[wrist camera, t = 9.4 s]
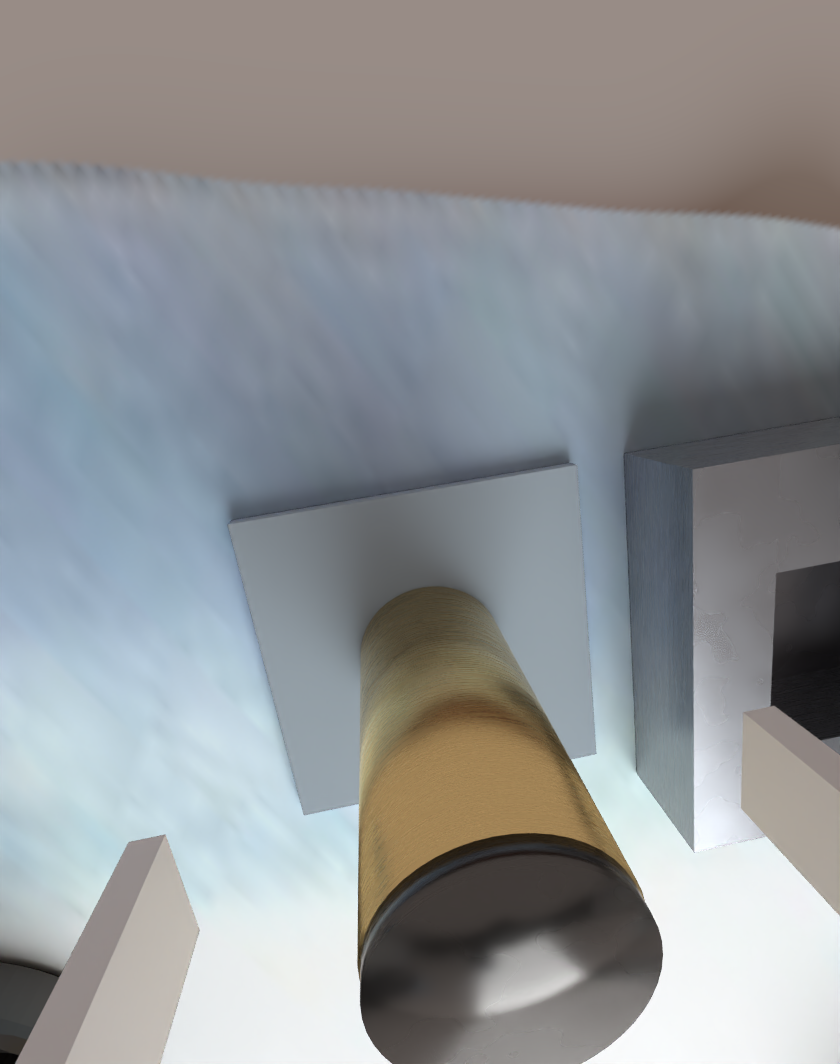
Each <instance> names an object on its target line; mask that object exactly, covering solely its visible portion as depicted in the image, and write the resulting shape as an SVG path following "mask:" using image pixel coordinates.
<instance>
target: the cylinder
mask: <svg viewBox="0 0 840 1064" xmlns="http://www.w3.org/2000/svg"><path fill="white" fill-rule="evenodd" d="M662 959H663V950H662V940H661V936H660V932H659V929H658V926H657V924H656V922H655V920H654V918H653V916H652V914H651V912H650V910H649V908H648V907H647V905H646V903H645V900H644V897H643V893H642V890H641V888H640V886H639V884H638V882H637V880H636V878H635V876H634V875H633V873H632V871H631V869H630V867H629V865H628V864H627V862H626V860H625V858H624V856H623V854H622V853H621V851H620V849H619V847H618V845H617V843H616V842H615V840H614V838H613V836H612V834H611V832H610V831H609V829H608V827H607V825H606V823H605V821H604V820H603V818H602V816H601V814H600V812H599V810H598V809H597V807H596V805H595V803H594V801H593V799H592V798H591V796H590V794H589V792H588V790H587V789H586V787H585V785H584V783H583V781H582V779H581V778H580V776H579V774H578V772H577V770H576V768H575V767H574V765H573V763H572V761H571V759H570V757H569V756H568V754H567V752H566V750H565V748H564V746H563V745H562V743H561V741H560V739H559V737H558V735H557V734H556V732H555V730H554V728H553V726H552V724H551V723H550V721H549V719H548V717H547V715H546V713H545V712H544V710H543V708H542V706H541V704H540V702H539V701H538V699H537V697H536V695H535V693H534V691H533V690H532V688H531V686H530V684H529V682H528V680H527V679H526V677H525V675H524V673H523V671H522V669H521V668H520V666H519V664H518V662H517V660H516V658H515V657H514V655H513V653H512V651H511V649H510V647H509V646H508V644H507V642H506V640H505V638H504V636H503V635H502V633H501V631H500V629H499V627H498V625H497V624H496V622H495V620H494V618H493V616H492V615H491V614H490V612H489V611H488V609H487V608H486V607H485V606H484V605H483V604H482V603H481V602H479V601H478V600H477V599H476V598H474V597H472V596H471V595H469V594H467V593H465V592H462V591H460V590H456V589H453V588H448V587H438V586H431V587H422V588H417V589H413V590H410V591H407V592H405V593H402V594H400V595H398V596H396V597H395V598H393V599H392V600H390V601H389V602H387V603H386V604H385V605H384V606H383V607H382V608H380V609H379V611H378V612H377V613H376V614H375V615H374V616H373V618H372V619H371V621H370V622H369V624H368V626H367V628H366V630H365V633H364V636H363V639H362V644H361V664H360V764H359V864H358V972H359V979H360V1007H361V1014H362V1020H363V1023H364V1026H365V1029H366V1032H367V1034H368V1036H369V1037H370V1039H371V1041H372V1043H373V1044H374V1046H375V1047H376V1048H377V1049H378V1050H379V1052H380V1053H381V1054H382V1055H383V1056H384V1057H385V1058H386V1059H387V1060H389V1061H390V1062H391V1063H392V1064H581V1063H583V1062H585V1061H587V1060H588V1059H590V1058H592V1057H594V1056H595V1055H597V1054H598V1053H599V1052H601V1051H602V1050H604V1049H605V1048H607V1047H608V1046H609V1045H611V1044H612V1043H613V1042H614V1041H615V1040H617V1039H618V1038H619V1037H620V1036H621V1035H622V1034H623V1033H624V1032H625V1031H626V1030H627V1029H628V1028H629V1027H630V1026H631V1025H632V1024H633V1023H634V1022H635V1021H636V1019H637V1018H638V1017H639V1015H640V1014H641V1013H642V1012H643V1010H644V1009H645V1007H646V1005H647V1004H648V1002H649V1000H650V999H651V997H652V995H653V993H654V990H655V988H656V986H657V983H658V980H659V976H660V973H661V969H662Z"/></svg>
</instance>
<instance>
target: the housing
mask: <svg viewBox="0 0 840 1064" xmlns="http://www.w3.org/2000/svg"><path fill="white" fill-rule="evenodd" d="M624 466H625V491H626V515H627V540H628V564H629V589H630V613H631V638H632V662H633V687H634V712H635V736H636V761H637V774H638V776H639V777H640V779H641V780H642V781H643V783H644V784H645V785H646V787H647V788H648V790H649V791H650V792H651V794H652V795H653V796H654V798H655V799H656V801H657V802H658V803H659V805H660V806H661V807H662V809H663V810H664V812H665V813H666V814H667V816H668V817H669V819H670V820H671V821H672V823H673V824H674V825H675V827H676V828H677V830H678V831H679V832H680V834H681V835H682V836H683V838H684V839H685V841H686V842H687V843H688V845H689V846H690V847H691V849H692V850H693V852H694V853H695V852H699V851H704V850H708V849H712V848H717V847H721V846H726V845H730V844H735V843H739V842H743V841H748V840H752V839H757V838H761V837H765V836H766V835H765V834H764V833H763V832H762V831H761V830H760V829H759V828H758V826H757V825H756V824H755V823H754V822H753V821H752V820H751V819H750V818H749V817H748V816H747V815H746V813H745V812H744V811H743V810H742V809H741V781H742V743H743V712H747V711H752V710H757V709H761V708H766V707H771V706H775V707H777V708H778V709H779V710H781V711H782V712H783V713H785V714H786V715H787V716H789V717H790V718H791V719H793V720H794V721H795V722H797V723H798V724H799V725H801V726H802V727H803V728H805V729H806V730H807V731H809V732H810V733H811V734H813V735H814V736H815V737H817V738H818V739H819V740H821V741H822V742H823V743H825V744H826V745H827V746H828V747H830V748H831V749H832V750H834V751H835V752H836V753H838V754H839V755H840V417H836V418H830V419H825V420H819V421H813V422H807V423H801V424H795V425H789V426H783V427H778V428H772V429H766V430H760V431H754V432H748V433H742V434H736V435H731V436H725V437H719V438H713V439H707V440H701V441H695V442H689V443H683V444H678V445H672V446H666V447H660V448H654V449H648V450H642V451H636V452H631V453H625V454H624Z"/></svg>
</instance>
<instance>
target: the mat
mask: <svg viewBox="0 0 840 1064" xmlns="http://www.w3.org/2000/svg"><path fill="white" fill-rule="evenodd" d="M228 528H229V532H230V536H231V540H232V544H233V547H234V551H235V555H236V559H237V563H238V566H239V570H240V574H241V578H242V582H243V585H244V589H245V593H246V597H247V601H248V605H249V608H250V612H251V616H252V620H253V624H254V627H255V631H256V635H257V639H258V643H259V646H260V650H261V654H262V658H263V662H264V665H265V669H266V673H267V677H268V681H269V685H270V688H271V692H272V696H273V700H274V704H275V707H276V711H277V715H278V719H279V723H280V726H281V730H282V734H283V738H284V742H285V745H286V749H287V753H288V757H289V761H290V765H291V768H292V772H293V776H294V780H295V784H296V787H297V791H298V795H299V799H300V803H301V806H302V810H303V814H304V815H308V814H313V813H317V812H322V811H327V810H332V809H336V808H341V807H346V806H351V805H355V804H359V764H360V664H361V644H362V639H363V636H364V633H365V630H366V628H367V626H368V624H369V622H370V621H371V619H372V618H373V616H374V615H375V614H376V613H377V612H378V611H379V609H380V608H382V607H383V606H384V605H385V604H386V603H387V602H389V601H390V600H392V599H393V598H395V597H396V596H398V595H400V594H402V593H405V592H407V591H410V590H413V589H417V588H422V587H431V586H438V587H448V588H453V589H456V590H460V591H462V592H465V593H467V594H469V595H471V596H472V597H474V598H476V599H477V600H478V601H479V602H481V603H482V604H483V605H484V606H485V607H486V608H487V609H488V611H489V612H490V614H491V615H492V616H493V618H494V620H495V622H496V624H497V625H498V627H499V629H500V631H501V633H502V635H503V636H504V638H505V640H506V642H507V644H508V646H509V647H510V649H511V651H512V653H513V655H514V657H515V658H516V660H517V662H518V664H519V666H520V668H521V669H522V671H523V673H524V675H525V677H526V679H527V680H528V682H529V684H530V686H531V688H532V690H533V691H534V693H535V695H536V697H537V699H538V701H539V702H540V704H541V706H542V708H543V710H544V712H545V713H546V715H547V717H548V719H549V721H550V723H551V724H552V726H553V728H554V730H555V732H556V734H557V735H558V737H559V739H560V741H561V743H562V745H563V746H564V748H565V750H566V752H567V754H568V756H569V757H570V759H575V758H579V757H584V756H589V755H594V754H596V742H595V727H594V712H593V697H592V681H591V666H590V651H589V636H588V621H587V606H586V591H585V576H584V560H583V545H582V530H581V515H580V500H579V485H578V470H577V465H576V464H573V463H566V464H560V465H554V466H548V467H542V468H536V469H531V470H525V471H519V472H513V473H507V474H501V475H495V476H489V477H484V478H478V479H472V480H466V481H460V482H454V483H448V484H442V485H436V486H431V487H425V488H419V489H413V490H407V491H401V492H395V493H389V494H384V495H378V496H372V497H366V498H360V499H354V500H348V501H342V502H337V503H331V504H325V505H319V506H313V507H307V508H301V509H295V510H289V511H284V512H278V513H272V514H266V515H260V516H254V517H248V518H242V519H237V520H232V521H231V522H230V523H229V524H228Z"/></svg>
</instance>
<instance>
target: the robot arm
mask: <svg viewBox="0 0 840 1064" xmlns="http://www.w3.org/2000/svg"><path fill="white" fill-rule="evenodd" d="M741 809H742V810H743V811H744V812H745V813H746V815H747V816H748V817H749V818H750V819H751V820H752V821H753V822H754V823H755V824H756V825H757V826H758V828H759V829H760V830H761V831H762V832H763V833H764V834H765V835H766V836H767V837H768V838H769V840H770V841H771V842H772V843H773V844H774V845H775V846H776V847H777V848H778V849H779V850H780V851H781V853H782V854H783V855H784V856H785V857H786V858H787V859H788V860H789V861H790V862H791V863H792V864H793V866H794V867H795V868H796V869H797V870H798V871H799V872H800V873H801V874H802V875H803V876H804V878H805V879H806V880H807V881H808V882H809V883H810V884H811V885H812V886H813V887H814V888H815V889H816V891H817V892H818V893H819V894H820V895H821V896H822V897H823V898H824V899H825V900H826V901H827V902H828V904H829V905H830V906H831V907H832V908H833V909H834V910H835V911H836V912H837V913H838V914H839V915H840V755H839V754H838V753H836V752H835V751H834V750H832V749H831V748H830V747H828V746H827V745H826V744H825V743H823V742H822V741H821V740H819V739H818V738H817V737H815V736H814V735H813V734H811V733H810V732H809V731H807V730H806V729H805V728H803V727H802V726H801V725H799V724H798V723H797V722H795V721H794V720H793V719H791V718H790V717H789V716H787V715H786V714H785V713H783V712H782V711H781V710H779V709H778V708H777V707H775V706H771V707H766V708H761V709H757V710H752V711H747V712H743V743H742V781H741ZM199 931H200V930H199V927H198V924H197V921H196V919H195V916H194V913H193V910H192V907H191V905H190V902H189V899H188V896H187V894H186V891H185V888H184V885H183V882H182V880H181V877H180V874H179V871H178V868H177V866H176V863H175V860H174V857H173V854H172V852H171V849H170V846H169V843H168V840H167V838H166V835H160V836H156V837H151V838H146V839H141V840H137V841H132V842H128V844H127V846H126V848H125V850H124V852H123V854H122V856H121V858H120V860H119V862H118V864H117V866H116V868H115V870H114V872H113V874H112V876H111V878H110V880H109V881H108V883H107V885H106V887H105V889H104V891H103V893H102V895H101V897H100V899H99V901H98V903H97V905H96V907H95V909H94V911H93V913H92V915H91V917H90V919H89V921H88V922H87V924H86V926H85V928H84V930H83V932H82V934H81V936H80V938H79V940H78V942H77V944H76V946H75V948H74V950H73V952H72V954H71V956H70V958H69V960H68V962H67V964H66V965H65V967H64V969H63V971H62V973H61V975H60V977H57V976H54V975H51V974H48V973H45V972H42V971H38V970H35V969H31V968H27V967H23V966H18V965H12V964H7V963H0V1064H160V1063H161V1059H162V1056H163V1052H164V1049H165V1046H166V1042H167V1039H168V1035H169V1032H170V1029H171V1025H172V1022H173V1019H174V1015H175V1012H176V1008H177V1005H178V1002H179V998H180V995H181V992H182V988H183V985H184V981H185V978H186V975H187V971H188V968H189V964H190V961H191V958H192V954H193V951H194V948H195V944H196V941H197V937H198V934H199Z"/></svg>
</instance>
